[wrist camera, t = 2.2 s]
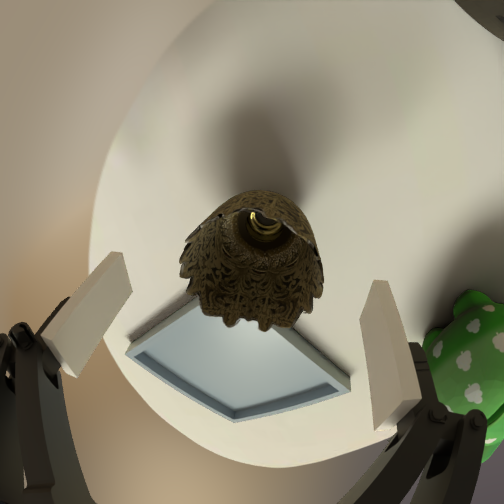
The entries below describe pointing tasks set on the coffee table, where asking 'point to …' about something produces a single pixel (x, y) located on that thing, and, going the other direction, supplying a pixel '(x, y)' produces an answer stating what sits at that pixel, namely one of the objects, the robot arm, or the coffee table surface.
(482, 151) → the coffee table surface
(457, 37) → the coffee table surface
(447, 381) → the piggy bank
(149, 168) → the coffee table surface
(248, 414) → the tray
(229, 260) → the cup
